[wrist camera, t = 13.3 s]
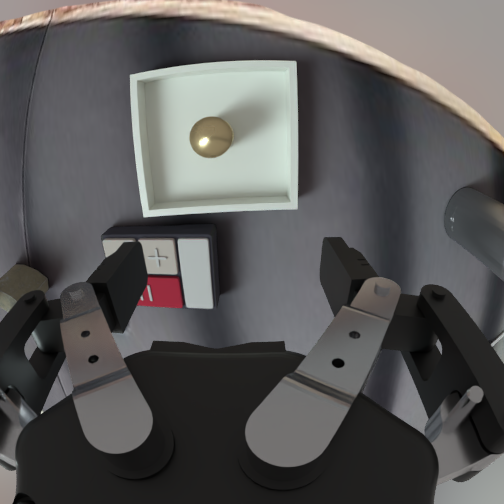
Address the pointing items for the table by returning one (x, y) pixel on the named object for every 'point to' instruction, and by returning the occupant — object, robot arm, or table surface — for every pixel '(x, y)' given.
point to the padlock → (20, 284)
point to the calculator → (174, 263)
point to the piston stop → (211, 137)
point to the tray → (239, 153)
